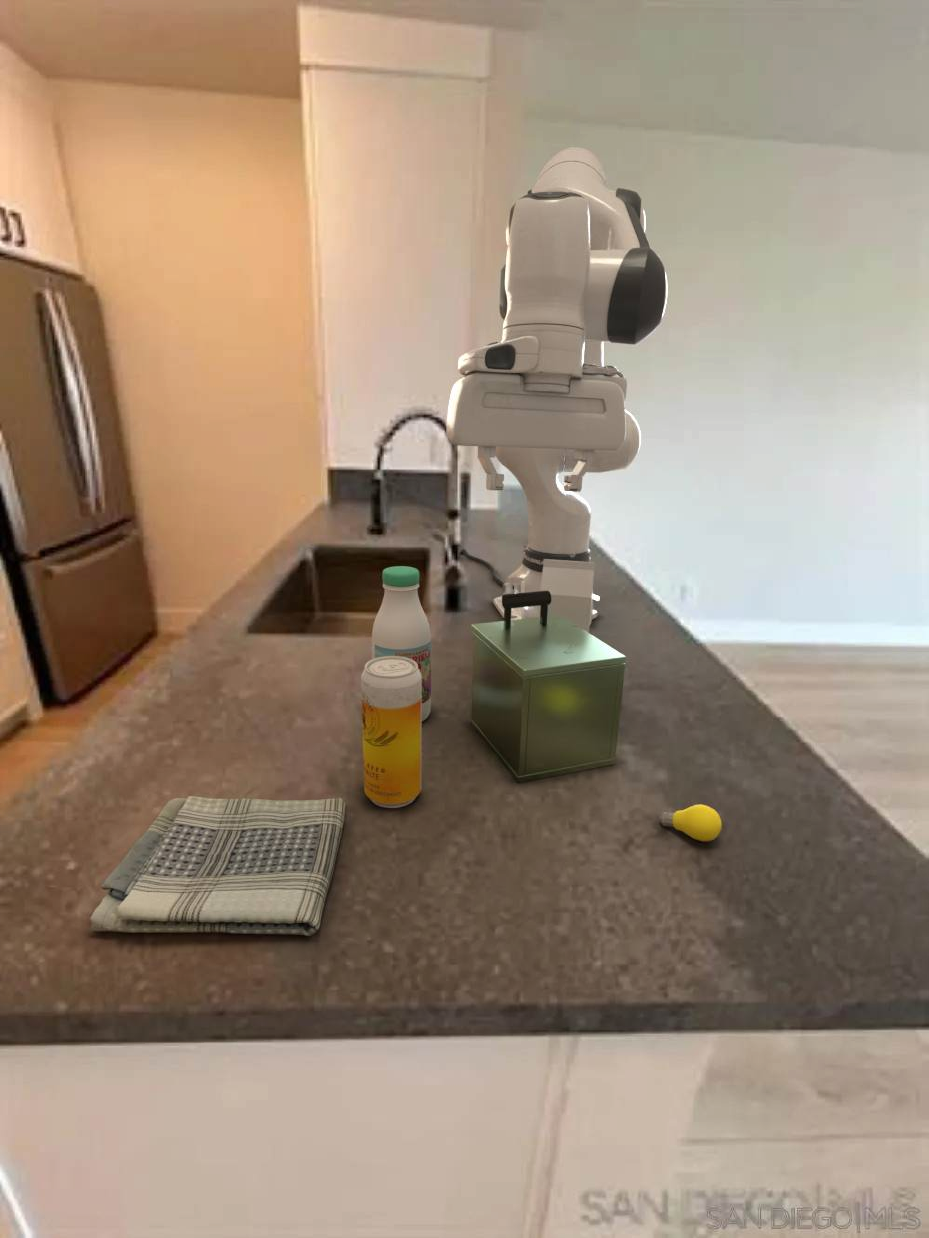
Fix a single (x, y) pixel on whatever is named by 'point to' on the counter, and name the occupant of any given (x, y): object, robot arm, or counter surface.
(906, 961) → the counter surface
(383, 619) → the milk bottle
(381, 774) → the beer can
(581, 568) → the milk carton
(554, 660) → the green panel
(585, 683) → the olive green box
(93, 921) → the dish towel
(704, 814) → the light bulb
